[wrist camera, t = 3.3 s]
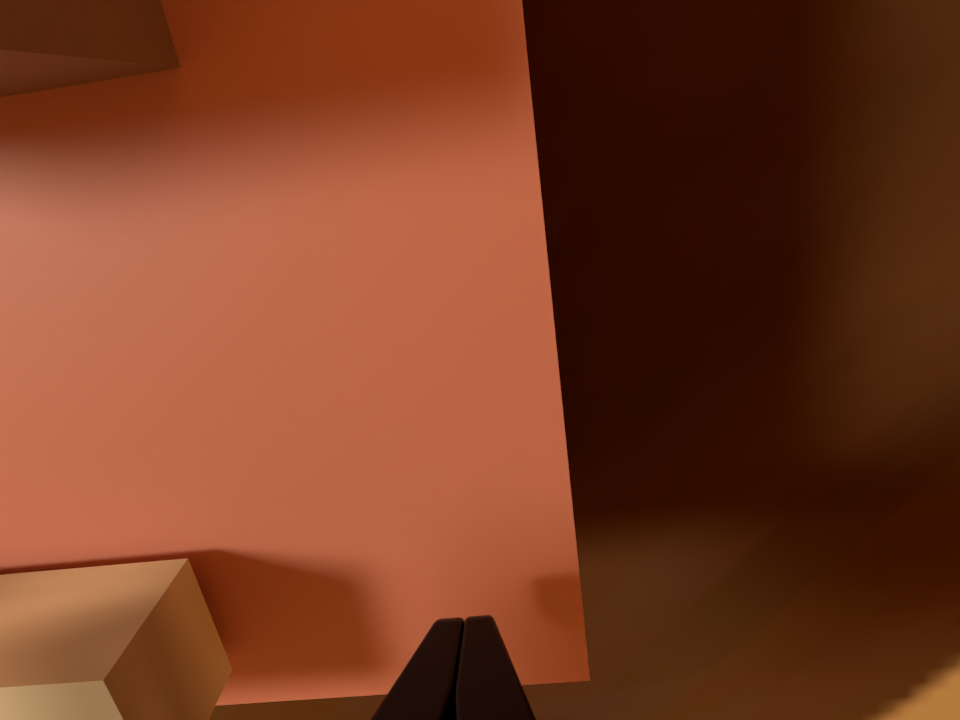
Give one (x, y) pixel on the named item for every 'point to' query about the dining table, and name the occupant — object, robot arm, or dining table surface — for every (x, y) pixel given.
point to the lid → (287, 326)
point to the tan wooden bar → (109, 644)
